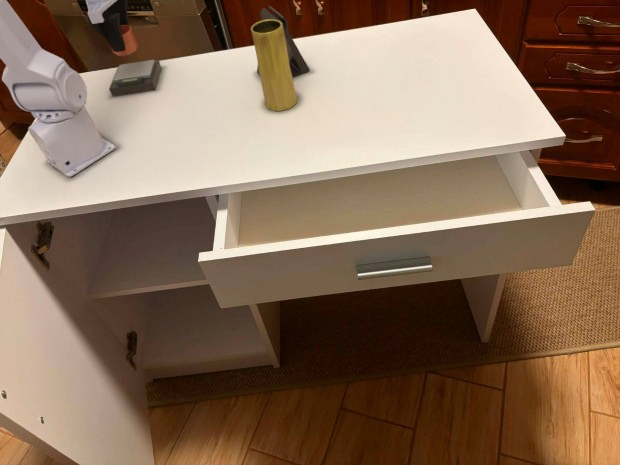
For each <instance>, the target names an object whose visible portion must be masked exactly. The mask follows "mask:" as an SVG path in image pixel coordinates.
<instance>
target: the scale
mask: <svg viewBox="0 0 620 465" xmlns="http://www.w3.org/2000/svg"><path fill="white" fill-rule="evenodd" d="M162 70H163V69H162V65H161V63H160V61H159V60H155V59H148V60H143V61H136V62H130V63H129V62H128V63H123V64H119V65H118V67H117V69H116V71H115V73H114V76H113V78H112V80H111V83H110V85H109V88H108V90H109V93H110V95H111V96H112V97H119V96H125V95H132V94H138V93H144V92H145V93H146V92H151V91H156V90H157V86H158V82H159V79H160V76H161V72H162Z"/></svg>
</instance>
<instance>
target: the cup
mask: <svg viewBox="0 0 620 465" xmlns="http://www.w3.org/2000/svg"><path fill="white" fill-rule="evenodd" d="M120 28H121V33H122V36H123V39H124V43H125V51H120V52H114V50H113V49H112V48H111V47H110V49H111V51H112V53H113V54H115V55H116V56H119V57H124V56H129V55H131V54H133V53H135V52H136V51H137V50H138V46H139V44H138V41H137V39H136V35H135V33H134V32H133V29H132V26H131V25H130V24H129V25H120Z"/></svg>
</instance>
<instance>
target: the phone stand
mask: <svg viewBox="0 0 620 465" xmlns="http://www.w3.org/2000/svg"><path fill="white" fill-rule="evenodd" d="M267 8H268V9H269V10H270V11H271V12H272V13H273V14H272V13H271V12H269V10H268V9H266V8H265V7H262V9H261V11H260V15H259V18H260V21H262V20H266V19H276V20H279V21H281V22H282V24H283V28H284V35H285V41H286V47H287V53H288V59H289V66H290V70H291V74H292V78H293V79H294V78H296V77H299V76H301V75H304V74H307V73H308V72H310V68H309V65H308V64H307V63H306V60H305V59H304V57H303V56H302V53H301V52H300V49H299V48H298V46H297V45H296V43H295V40H294V38H293V37H292V36H291V34H290V31H289V24H288V23H289V22H288V20H287V18H285V17H284V16H283V15H282V14H281V13H280V12H278V11H277V10H276V9H274V7H272V6H270V5H268V6H267ZM256 74H258V76H260V71H259V66H258V65H257V67H256Z"/></svg>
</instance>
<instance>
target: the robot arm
mask: <svg viewBox="0 0 620 465" xmlns="http://www.w3.org/2000/svg"><path fill="white" fill-rule="evenodd" d="M85 4H86V6H87V10H88V11H87V16H88V17H87V19H86V20H87V23H88V25H89V26H90V27H91V28H93V29H94V30H95V31H97V32H98V33H99V34H100V35H101V37H103V39H104V40H105V42H107V44H108V46H109V47H110V49H111V48H112V49H113V50H114V52H120V51H125V43H124V39H123V36H122V33H121V28H120V25H129V26H130V22H129V16H128V0H85ZM112 49H111V50H112ZM0 60H1V61H2V62H3V64H4V65H5V67H4V69H3V73H2V76H1V81H2V82H3V83H4V84H5V86H6V87H7V89H8V90H9V93H10V95H11V97H12V99H13V102H14V103H15V104H16V106H17V107H18V108H19V109H21V110H23V111H25V112H29V113H30V114H31V115H32V117H33V118H35V119H36V120H35V121H34V122H33V123H32V124H30V125H29V126H28V128H27V129H28V132H29V134H30V136H31V137H32V139H33V140H34V142H35V143H36V144H37V146H38V147H39V149H40V150H41V152H42V153H43V155H44V157H45V158H46V160H47V162H48V163H49V164H50V165H52V166H53V167H54V168H56V169H57V170H58V171H59V172H61V173H62V174H64V175H65V176H67V177H68V178H72V177H74V176H75V175H76V174H78V173H79V172H81V171H82V170H84V169H85V168H88V167H89V166H90V165H92V164H94V163H95V162H97V161H98V160H100V159H102V158H103V157H105V156H106V155H108V154H109V153H111V152H112V151H114V150H115V149H116V145H115V144H113V143H111V142H110V141H109V140H106V139H105V138H103V137H102V136H101V134H100V132H99V130H98V128H97V126H96V125H95V122H94V121H93V119H92V117H91V116H90V113H89V112H88V110H87V108H86V106H85V105H86V104H87V98H88V89H87V85H86V83H85V80H84V79H83V77H82V76H81V75H80V73H79V72H78V71H76V70H74V69H73V68H71V67H70V66H69V64H68V63H67V62H66V60H65V59H64V58H62V57H60V56H58V55H55V54H54V53H51V52H49V51H47V50H45V49H44V48H42V47H41V45H40V44H39V43H38V41H37V40H36V39H35V37H34V36H33V34H32V33H31V32H30V30H29V29H28V28H27V27H26V25H25V24H24V22H23V20H22V19H21V18H20V16H19V15H18V14H17V12H16V11H15V10H14V8H13V7H12V5H11V4H10V3H9V2H8V0H0Z"/></svg>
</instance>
